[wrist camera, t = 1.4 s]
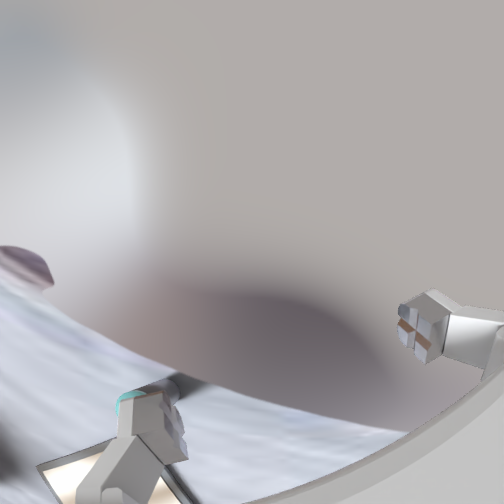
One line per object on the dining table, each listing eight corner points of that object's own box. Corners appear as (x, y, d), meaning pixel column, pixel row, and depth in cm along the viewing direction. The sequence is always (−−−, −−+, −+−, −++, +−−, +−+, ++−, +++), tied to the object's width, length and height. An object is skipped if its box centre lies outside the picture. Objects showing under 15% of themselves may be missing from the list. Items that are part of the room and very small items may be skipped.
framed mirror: (206, 518, 28) (205, 522, 27) (97, 546, 24) (94, 549, 23) (140, 426, 32) (137, 428, 31) (39, 464, 28) (34, 466, 27)
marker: (186, 397, 33) (161, 421, 21) (163, 408, 33) (128, 435, 20) (172, 373, 34) (141, 385, 21) (150, 384, 33) (108, 400, 21)
